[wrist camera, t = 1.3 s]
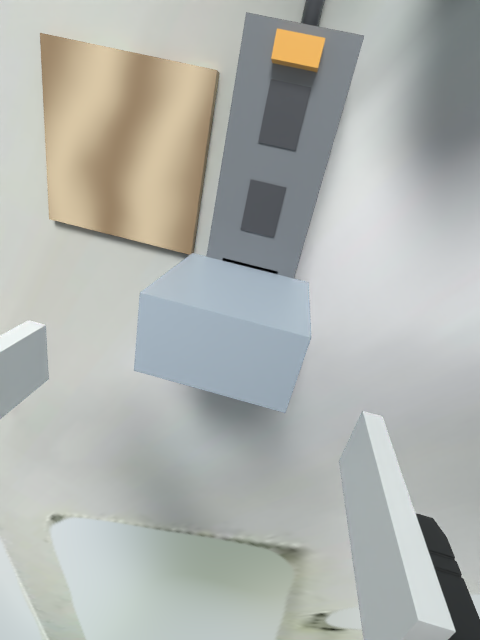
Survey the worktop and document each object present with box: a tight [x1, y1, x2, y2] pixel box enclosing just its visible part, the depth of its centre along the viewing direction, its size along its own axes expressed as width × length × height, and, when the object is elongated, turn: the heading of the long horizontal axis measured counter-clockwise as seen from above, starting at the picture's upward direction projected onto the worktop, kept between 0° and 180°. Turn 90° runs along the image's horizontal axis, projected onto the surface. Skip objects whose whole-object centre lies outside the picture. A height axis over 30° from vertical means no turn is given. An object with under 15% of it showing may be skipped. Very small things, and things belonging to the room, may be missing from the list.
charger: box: [134, 253, 311, 413], centre depth 20 cm, size 4×8×10 cm, turn 78°
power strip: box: [207, 0, 364, 279], centre depth 21 cm, size 28×6×5 cm, turn 168°
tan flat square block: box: [40, 33, 219, 255], centre depth 24 cm, size 12×12×1 cm
